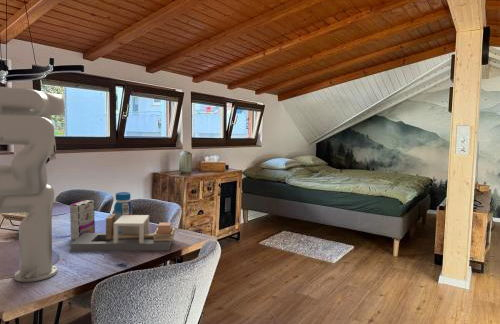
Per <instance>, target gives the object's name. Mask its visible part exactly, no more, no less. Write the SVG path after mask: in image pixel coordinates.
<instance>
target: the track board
mask: <svg viewBox="0 0 500 324" xmlns="http://www.w3.org/2000/svg"><path fill="white" fill-rule="evenodd" d="M118 226H122V233H118ZM154 233H155V232H150V215H149V214H132V215H122V216H121V217H120V218H119V219H118V220H117V221H116V222H115V223H114V238H111V239H106V232H95V233H83V234H82V235H81V236H80V237H78V238H77V239H76V240H73V241H72V242H71V243H70V244H69V245H70V249H69V251H70V252H101V251H102V252H103V251H104V252H110V251H111V252H112V251H113V252H117V251H121V252H122V251H123V252H124V251H130V252H131V251H133V252H134V251H142V252H143V251H170V249H171V246H172V243H173V240H174V239H173V240H172V241H154V238H144V234H154ZM118 234H139V238H118Z"/></svg>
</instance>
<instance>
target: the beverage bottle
mask: <svg viewBox="0 0 500 324" xmlns="http://www.w3.org/2000/svg"><path fill="white" fill-rule="evenodd" d="M130 200H131V192H127V191H122V192H120V191H119V192H115V204H114V206H113V208H114V210H113V214H116V221H117V220H118V219H119V218H120V217H121V216H122V215H133V209H132V206H133V205H132V203H131V202H130ZM118 233H122V226H118Z"/></svg>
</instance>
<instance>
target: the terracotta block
mask: <svg viewBox="0 0 500 324" xmlns="http://www.w3.org/2000/svg"><path fill="white" fill-rule="evenodd" d="M157 228H158V234H171V228H172V222H159V223H158V225H157Z"/></svg>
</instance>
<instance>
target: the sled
mask: <svg viewBox="0 0 500 324" xmlns="http://www.w3.org/2000/svg"><path fill="white" fill-rule="evenodd" d="M115 222H116V214H114V213H110V214H109V215H108V216H107V217H106V218H105V233H106V239H111V238H114V223H115ZM175 229H176V228H175V227H171V234H158V227H157V228H156V229H155V231H154V232H153V233H154V234H144V238H154V241H172V240H174V238H175V234H176V232H175V231H176V230H175ZM118 238H139V234H118ZM172 242H173V241H172Z"/></svg>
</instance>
